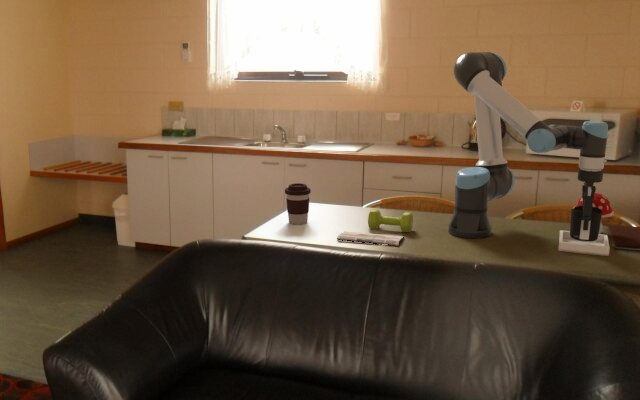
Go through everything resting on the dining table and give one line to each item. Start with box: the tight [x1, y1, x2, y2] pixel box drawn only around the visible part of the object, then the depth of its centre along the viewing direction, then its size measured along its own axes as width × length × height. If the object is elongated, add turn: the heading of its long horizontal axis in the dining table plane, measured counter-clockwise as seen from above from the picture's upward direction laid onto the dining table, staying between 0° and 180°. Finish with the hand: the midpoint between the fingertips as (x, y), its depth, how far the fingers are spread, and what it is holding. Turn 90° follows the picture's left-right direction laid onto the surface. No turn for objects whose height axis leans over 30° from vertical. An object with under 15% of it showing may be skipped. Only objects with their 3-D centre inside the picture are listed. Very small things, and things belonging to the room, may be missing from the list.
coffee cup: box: [284, 182, 312, 225], centre depth 227 cm, size 10×10×15 cm
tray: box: [558, 229, 611, 257], centre depth 198 cm, size 15×15×3 cm
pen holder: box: [569, 205, 602, 241], centre depth 196 cm, size 9×9×10 cm
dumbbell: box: [367, 208, 414, 233], centre depth 218 cm, size 16×8×7 cm, turn 68°
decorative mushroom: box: [573, 192, 615, 234], centre depth 212 cm, size 14×14×15 cm
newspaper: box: [336, 230, 405, 246], centre depth 207 cm, size 23×12×2 cm, turn 71°
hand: (583, 235), depth 197 cm, fingers closed on pen holder, 9 cm apart
